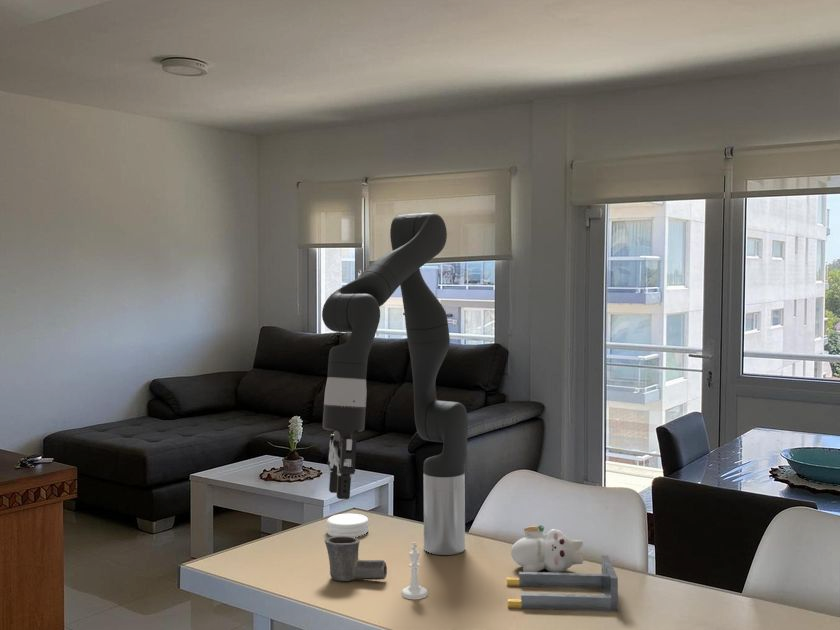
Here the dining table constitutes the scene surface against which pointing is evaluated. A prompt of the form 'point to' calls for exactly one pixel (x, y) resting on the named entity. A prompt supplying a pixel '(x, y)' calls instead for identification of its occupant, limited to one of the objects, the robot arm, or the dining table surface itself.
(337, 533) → the round white light
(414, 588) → the chess piece
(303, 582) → the dining table surface
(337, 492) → the robot arm
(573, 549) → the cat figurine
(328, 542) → the pipe
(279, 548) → the dining table surface
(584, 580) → the bracket
